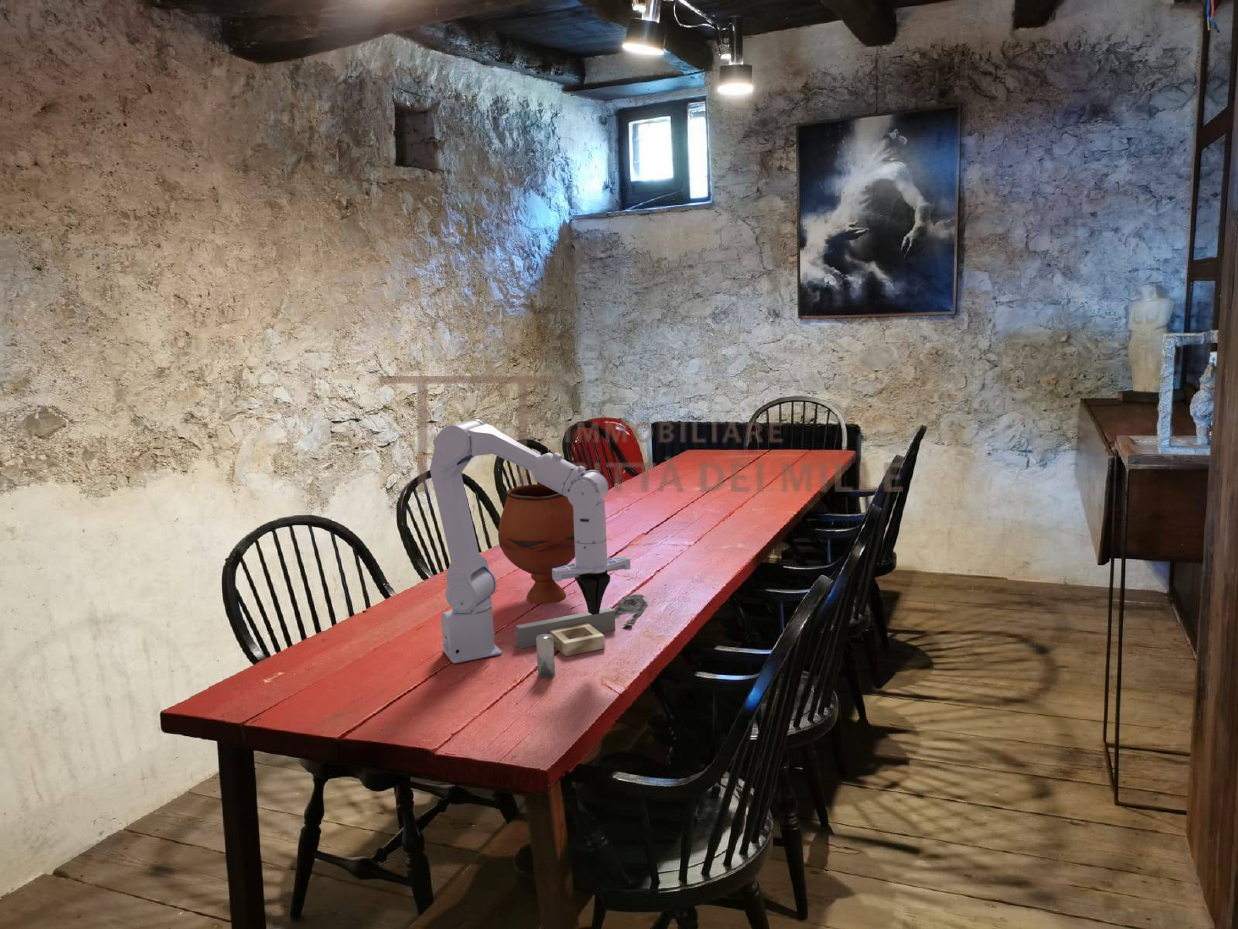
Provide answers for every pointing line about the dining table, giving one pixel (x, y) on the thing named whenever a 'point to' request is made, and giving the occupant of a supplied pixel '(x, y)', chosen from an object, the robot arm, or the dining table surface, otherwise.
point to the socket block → (577, 639)
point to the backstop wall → (564, 625)
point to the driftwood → (631, 607)
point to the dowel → (545, 655)
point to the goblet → (538, 537)
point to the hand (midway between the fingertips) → (593, 612)
